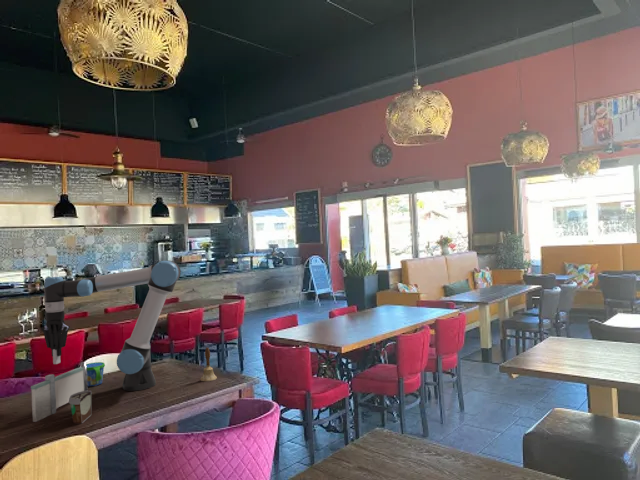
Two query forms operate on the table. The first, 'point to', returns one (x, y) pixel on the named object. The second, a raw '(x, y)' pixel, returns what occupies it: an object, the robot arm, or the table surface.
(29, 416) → the table surface
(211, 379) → the hand bell
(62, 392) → the gate
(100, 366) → the snack cup
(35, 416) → the fence
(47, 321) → the robot arm
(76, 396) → the food container
